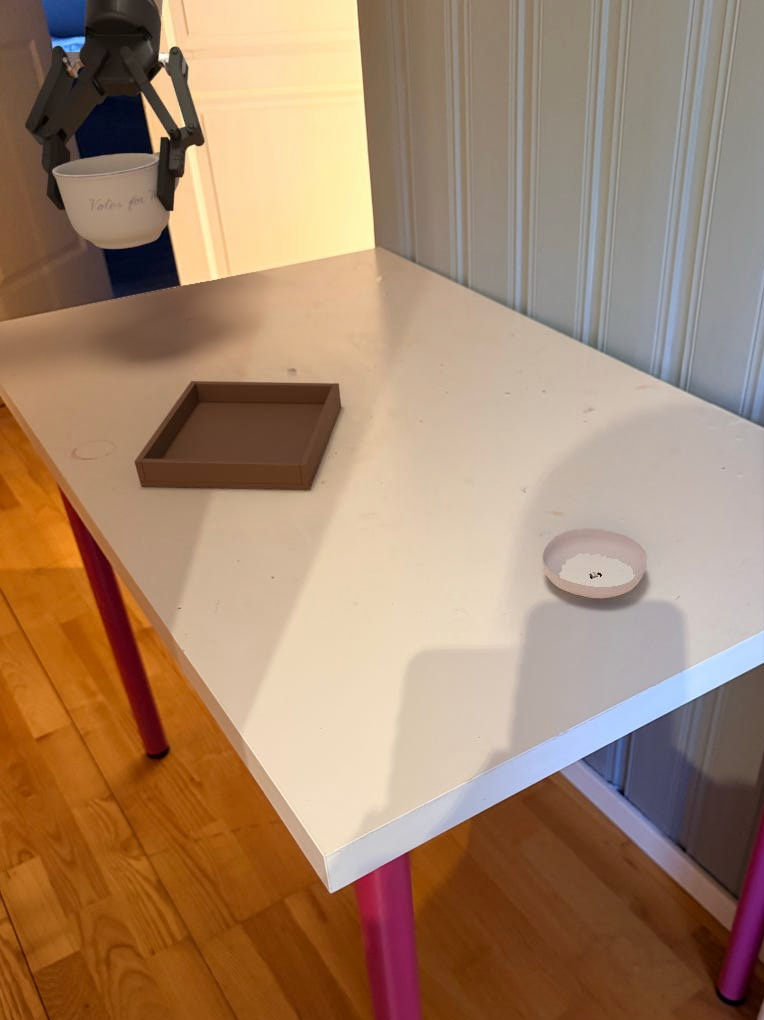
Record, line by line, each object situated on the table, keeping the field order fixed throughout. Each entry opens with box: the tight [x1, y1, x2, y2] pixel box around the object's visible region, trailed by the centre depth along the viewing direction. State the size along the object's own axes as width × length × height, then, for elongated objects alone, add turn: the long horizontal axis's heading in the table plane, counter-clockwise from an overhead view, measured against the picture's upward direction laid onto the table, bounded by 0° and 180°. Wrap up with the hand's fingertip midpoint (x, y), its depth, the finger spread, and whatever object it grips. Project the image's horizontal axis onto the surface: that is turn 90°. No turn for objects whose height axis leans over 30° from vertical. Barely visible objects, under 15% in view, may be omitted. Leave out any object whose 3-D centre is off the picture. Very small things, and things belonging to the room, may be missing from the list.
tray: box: [134, 380, 342, 491], centre depth 87 cm, size 15×17×2 cm
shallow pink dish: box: [542, 528, 648, 599], centre depth 70 cm, size 8×8×2 cm
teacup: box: [52, 151, 180, 250], centre depth 98 cm, size 14×11×8 cm
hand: (110, 203), depth 96 cm, fingers closed on teacup, 11 cm apart
